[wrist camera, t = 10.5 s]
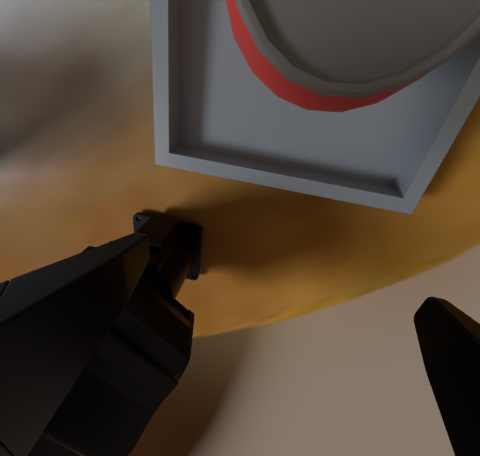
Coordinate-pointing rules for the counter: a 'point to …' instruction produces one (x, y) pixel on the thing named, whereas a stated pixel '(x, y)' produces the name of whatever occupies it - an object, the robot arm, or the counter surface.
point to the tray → (296, 118)
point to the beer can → (348, 46)
